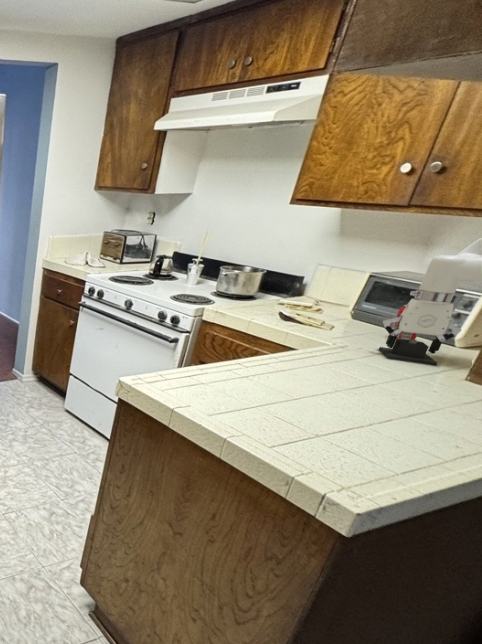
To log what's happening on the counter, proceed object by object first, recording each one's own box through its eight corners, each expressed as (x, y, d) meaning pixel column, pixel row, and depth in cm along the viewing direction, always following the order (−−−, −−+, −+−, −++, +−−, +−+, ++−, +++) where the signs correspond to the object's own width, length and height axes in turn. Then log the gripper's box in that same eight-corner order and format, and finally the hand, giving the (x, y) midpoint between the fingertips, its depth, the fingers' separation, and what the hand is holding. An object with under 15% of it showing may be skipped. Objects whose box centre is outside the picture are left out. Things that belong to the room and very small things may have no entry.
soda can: (402, 336, 173) (417, 304, 168) (420, 342, 166) (436, 309, 162) (382, 335, 173) (395, 303, 169) (399, 341, 167) (413, 308, 162)
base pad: (424, 356, 152) (432, 338, 150) (436, 365, 143) (445, 347, 141) (378, 349, 157) (385, 332, 155) (387, 358, 149) (395, 340, 146)
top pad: (417, 353, 151) (422, 341, 149) (423, 358, 146) (429, 346, 145) (391, 350, 154) (396, 338, 152) (397, 355, 149) (402, 343, 148)
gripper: (398, 295, 144) (376, 347, 151) (480, 302, 136) (453, 358, 142) (391, 291, 150) (370, 342, 156) (469, 298, 141) (444, 351, 148)
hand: (410, 349), depth 149 cm, fingers open, 9 cm apart
